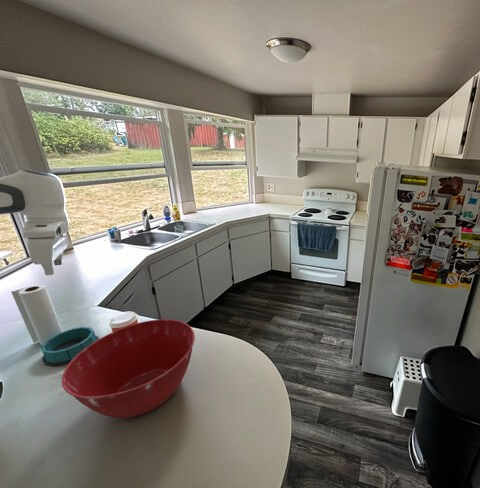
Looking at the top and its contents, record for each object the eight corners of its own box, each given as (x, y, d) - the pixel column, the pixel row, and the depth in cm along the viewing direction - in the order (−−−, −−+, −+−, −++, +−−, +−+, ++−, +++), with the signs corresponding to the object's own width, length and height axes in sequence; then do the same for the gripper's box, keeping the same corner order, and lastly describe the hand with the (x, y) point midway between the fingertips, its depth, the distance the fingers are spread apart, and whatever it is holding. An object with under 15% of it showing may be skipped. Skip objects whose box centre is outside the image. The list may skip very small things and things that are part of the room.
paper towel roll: (68, 336, 93) (49, 285, 86) (48, 347, 87) (26, 294, 80) (54, 332, 95) (34, 282, 87) (33, 343, 89) (10, 291, 82)
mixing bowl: (127, 357, 85) (115, 319, 79) (213, 353, 87) (208, 316, 82) (47, 449, 58) (23, 401, 53) (176, 440, 61) (164, 393, 56)
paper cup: (119, 362, 82) (108, 327, 78) (117, 349, 88) (107, 316, 83) (147, 351, 87) (138, 318, 83) (144, 339, 93) (136, 307, 88)
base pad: (48, 373, 77) (43, 361, 76) (39, 353, 85) (33, 341, 83) (105, 347, 88) (101, 336, 87) (92, 331, 96) (88, 320, 94)
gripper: (43, 220, 82) (50, 260, 85) (19, 233, 66) (28, 282, 69) (70, 220, 85) (75, 258, 88) (53, 232, 69) (60, 279, 72)
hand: (54, 269), depth 78 cm, fingers open, 8 cm apart
